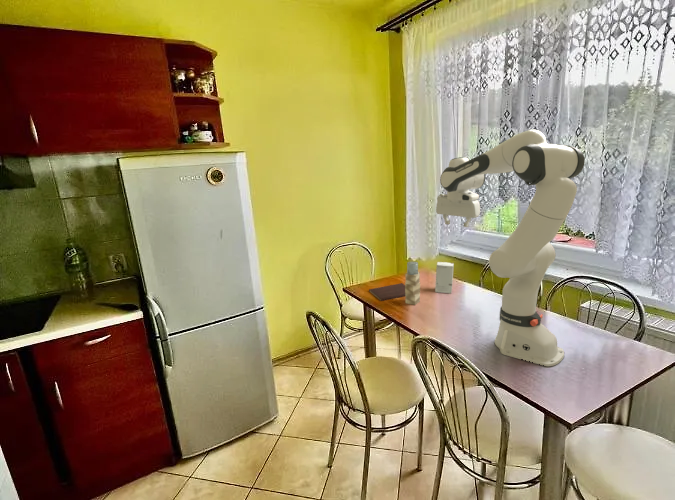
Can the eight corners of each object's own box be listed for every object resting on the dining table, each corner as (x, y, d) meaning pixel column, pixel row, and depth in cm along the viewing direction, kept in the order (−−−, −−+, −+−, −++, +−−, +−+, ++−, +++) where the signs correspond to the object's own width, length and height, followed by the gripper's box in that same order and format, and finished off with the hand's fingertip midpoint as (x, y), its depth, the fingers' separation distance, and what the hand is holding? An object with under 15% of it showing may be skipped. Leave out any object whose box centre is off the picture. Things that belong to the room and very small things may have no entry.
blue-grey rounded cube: (420, 272, 174) (420, 262, 173) (413, 275, 171) (413, 265, 170) (411, 270, 178) (411, 260, 177) (405, 273, 175) (405, 263, 174)
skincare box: (435, 292, 189) (435, 264, 185) (436, 288, 194) (436, 261, 190) (452, 293, 186) (453, 265, 182) (453, 289, 191) (453, 262, 187)
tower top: (419, 282, 177) (419, 272, 175) (415, 285, 173) (415, 275, 171) (409, 280, 179) (409, 270, 178) (405, 283, 175) (405, 274, 174)
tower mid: (420, 292, 177) (420, 283, 175) (413, 295, 174) (413, 285, 173) (412, 290, 181) (412, 280, 179) (405, 292, 178) (405, 283, 177)
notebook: (368, 291, 196) (368, 288, 195) (401, 285, 202) (401, 282, 201) (381, 302, 182) (381, 298, 182) (416, 295, 188) (416, 291, 188)
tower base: (419, 301, 179) (419, 292, 178) (414, 305, 175) (414, 295, 174) (410, 299, 182) (410, 290, 181) (405, 303, 178) (405, 293, 177)
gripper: (433, 194, 169) (433, 224, 173) (474, 197, 154) (473, 229, 158) (441, 192, 173) (440, 221, 177) (482, 195, 158) (481, 227, 162)
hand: (456, 225), depth 167 cm, fingers open, 8 cm apart
